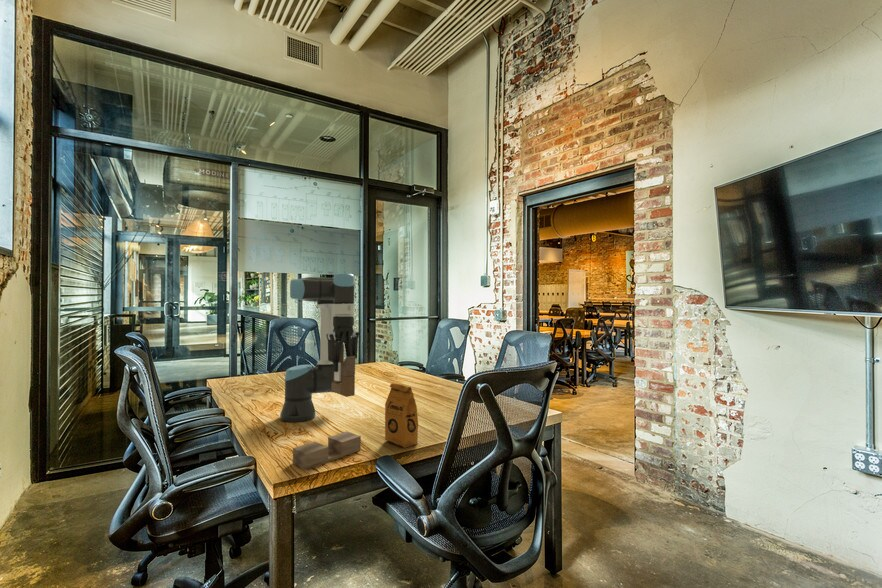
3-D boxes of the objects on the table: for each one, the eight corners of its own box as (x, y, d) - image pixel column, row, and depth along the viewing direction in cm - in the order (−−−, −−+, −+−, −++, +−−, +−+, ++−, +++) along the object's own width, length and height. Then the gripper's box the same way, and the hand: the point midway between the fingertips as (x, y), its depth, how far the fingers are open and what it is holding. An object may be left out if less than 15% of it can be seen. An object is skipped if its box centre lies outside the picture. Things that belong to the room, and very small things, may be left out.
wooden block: (346, 397, 141) (346, 346, 141) (331, 391, 149) (331, 343, 149) (355, 395, 144) (355, 345, 144) (339, 390, 151) (340, 342, 152)
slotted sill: (292, 463, 132) (292, 448, 132) (346, 444, 150) (346, 431, 150) (306, 469, 127) (306, 454, 127) (360, 450, 145) (360, 436, 145)
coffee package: (402, 450, 145) (402, 389, 145) (381, 441, 153) (381, 384, 154) (422, 443, 152) (422, 385, 152) (401, 435, 160) (401, 380, 161)
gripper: (330, 316, 138) (329, 384, 137) (368, 315, 151) (367, 377, 151) (317, 315, 142) (316, 381, 142) (354, 314, 156) (354, 375, 155)
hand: (342, 379), depth 146 cm, fingers closed on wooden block, 4 cm apart
